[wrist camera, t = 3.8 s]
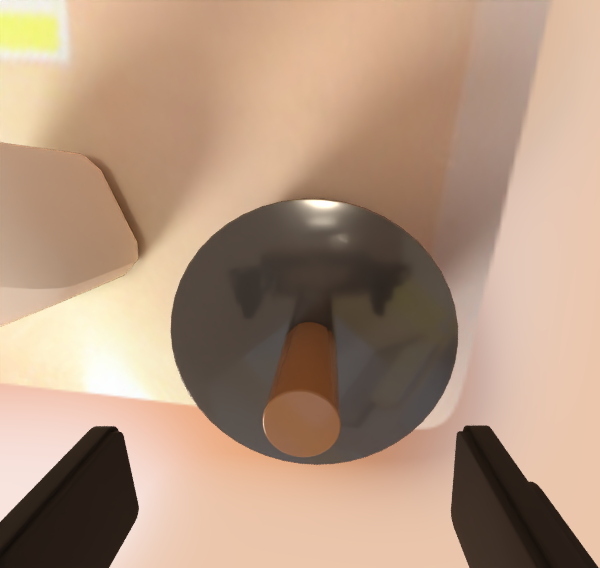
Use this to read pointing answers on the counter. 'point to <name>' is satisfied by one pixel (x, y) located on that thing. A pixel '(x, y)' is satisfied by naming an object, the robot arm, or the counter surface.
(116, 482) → the robot arm
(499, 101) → the counter surface
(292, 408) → the lid
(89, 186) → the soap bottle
